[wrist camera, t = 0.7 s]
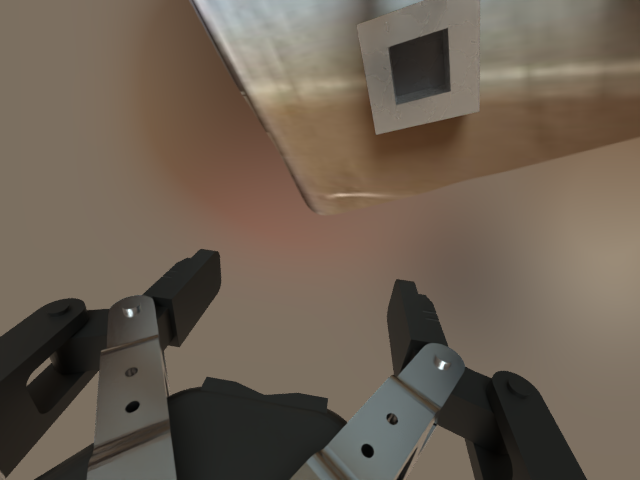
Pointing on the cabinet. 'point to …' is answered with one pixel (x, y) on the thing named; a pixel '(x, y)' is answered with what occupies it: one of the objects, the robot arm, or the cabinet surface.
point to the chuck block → (422, 63)
